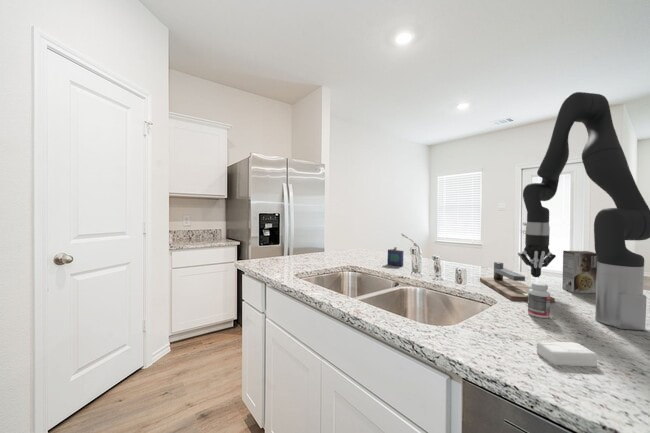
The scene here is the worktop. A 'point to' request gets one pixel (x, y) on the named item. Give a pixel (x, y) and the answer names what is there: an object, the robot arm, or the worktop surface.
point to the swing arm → (506, 273)
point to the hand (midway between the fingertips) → (535, 276)
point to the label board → (510, 288)
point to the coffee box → (579, 271)
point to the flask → (395, 257)
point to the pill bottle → (539, 300)
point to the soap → (566, 354)
